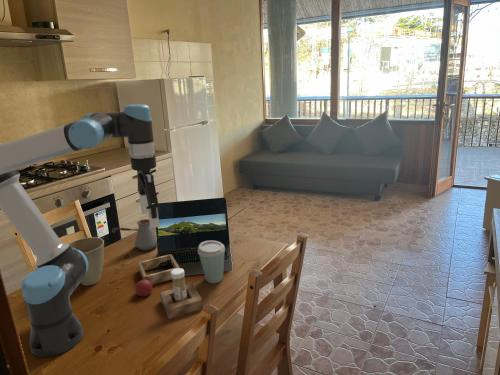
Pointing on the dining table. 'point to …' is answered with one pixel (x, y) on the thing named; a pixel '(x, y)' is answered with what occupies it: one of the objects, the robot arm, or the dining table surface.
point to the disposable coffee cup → (212, 260)
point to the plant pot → (91, 257)
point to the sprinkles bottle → (179, 284)
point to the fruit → (143, 288)
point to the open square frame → (154, 263)
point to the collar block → (181, 302)
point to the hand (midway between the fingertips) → (150, 220)
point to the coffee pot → (143, 235)
